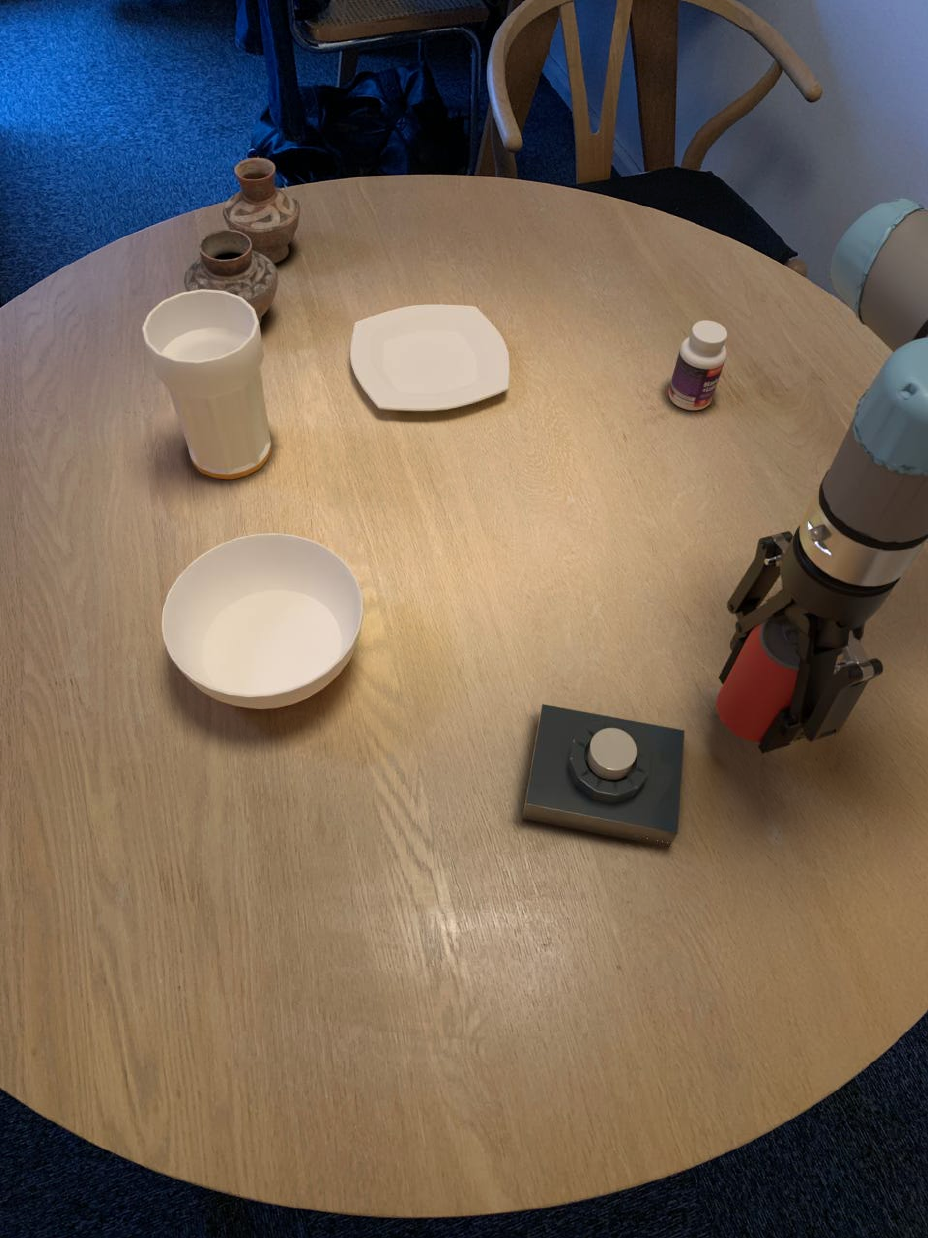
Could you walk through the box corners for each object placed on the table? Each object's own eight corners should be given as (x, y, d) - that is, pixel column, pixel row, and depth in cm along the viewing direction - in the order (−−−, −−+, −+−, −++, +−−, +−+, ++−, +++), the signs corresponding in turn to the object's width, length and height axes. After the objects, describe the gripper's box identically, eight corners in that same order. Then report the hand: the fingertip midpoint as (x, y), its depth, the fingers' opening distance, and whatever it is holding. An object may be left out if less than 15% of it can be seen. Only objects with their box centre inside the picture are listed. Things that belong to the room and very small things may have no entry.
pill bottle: (702, 417, 112) (723, 352, 104) (660, 401, 113) (678, 335, 105) (718, 391, 114) (740, 326, 106) (677, 375, 116) (696, 309, 108)
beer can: (771, 675, 85) (816, 598, 76) (800, 738, 82) (852, 667, 72) (703, 687, 84) (740, 611, 75) (730, 751, 81) (773, 681, 71)
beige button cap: (634, 743, 82) (639, 732, 80) (630, 784, 79) (635, 774, 78) (589, 734, 82) (592, 723, 80) (584, 775, 80) (587, 765, 78)
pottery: (315, 235, 130) (306, 151, 120) (272, 353, 116) (258, 269, 106) (235, 227, 130) (220, 142, 120) (183, 343, 116) (160, 258, 106)
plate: (526, 408, 112) (527, 395, 110) (367, 432, 108) (366, 419, 107) (485, 308, 122) (486, 295, 120) (339, 327, 119) (337, 314, 117)
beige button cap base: (676, 746, 87) (689, 720, 83) (669, 847, 81) (682, 825, 77) (538, 720, 88) (544, 694, 84) (522, 818, 82) (527, 795, 78)
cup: (163, 474, 104) (120, 348, 89) (206, 406, 110) (172, 279, 96) (258, 497, 102) (230, 373, 88) (296, 427, 109) (276, 300, 94)
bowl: (406, 656, 91) (405, 614, 85) (255, 773, 84) (242, 736, 78) (289, 548, 98) (280, 503, 92) (141, 648, 91) (120, 605, 85)
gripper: (734, 460, 68) (667, 634, 87) (884, 679, 58) (770, 822, 77) (823, 438, 70) (737, 614, 89) (983, 648, 60) (848, 795, 79)
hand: (753, 710), depth 83 cm, fingers closed on beer can, 7 cm apart
